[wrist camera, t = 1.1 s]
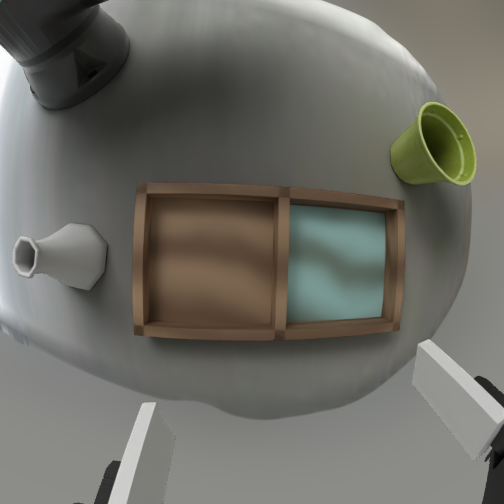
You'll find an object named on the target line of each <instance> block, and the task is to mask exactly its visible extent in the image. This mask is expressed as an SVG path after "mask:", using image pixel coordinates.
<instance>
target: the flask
mask: <svg viewBox="0 0 504 504" xmlns="http://www.w3.org/2000/svg"><path fill="white" fill-rule="evenodd" d="M106 252H107V243H106V242H105V241H104V240H103V239H102V237H101V236H100V235H99V234H98V233H97V231H96V230H95V229H94V228H93V227H92V225H84V224H76V223H70V224H68V225H66V226H65V227H63V228H62V229H60V230H59V231H57V232H55V233H54V234H52V235H50V236H48V237H47V238H45V239H41V240H37V241H34V239H32V238H28V237H22V236H20V237H19V239H18V241H17V243H16V244H15V246H14V248H13V258H12V265H13V266H14V268H15V270H16V271H17V273H18V274H19V276H23V277H26V278H32V277H33V276H34V274H39V273H44V274H47V275H49V276H51V277H53V278H55V279H57V280H58V281H60V282H62V283H64V284H65V285H67V286H70V287H75V288H79V289H84V290H88V291H90V289H91V288H92V287H93V286H94V284H95V283H96V282H97V280H98V279H99V278H100V277H101V275H102V274H103V273H104V271H105V261H106Z"/></svg>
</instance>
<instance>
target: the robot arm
mask: <svg viewBox="0 0 504 504" xmlns="http://www.w3.org/2000/svg"><path fill="white" fill-rule="evenodd" d="M105 1H108V0H0V45H1V46H2V47H3V48H4V49H5V50H6V51H7V52H8V53H9V54H10V55H11V56H12V57H13V58H14V59H15V60H16V61H17V62H18V63H19V64H20V65H21V66H22V67H23V70H24V73H25V75H26V78H27V80H28V82H29V84H30V89H31V92H32V95H33V96H34V98H35V99H36V100H37V101H38V102H39V103H40V104H42V105H43V106H44V107H46V108H48V109H53V110H58V109H64V108H68V107H71V106H73V105H76V104H78V103H80V102H82V101H84V100H85V99H87V98H89V97H90V96H92V95H93V94H94V93H96V92H97V91H98V90H100V89H101V88H102V87H103V86H104V85H106V84H107V83H108V82H109V81H110V80H111V79H112V78H113V77H114V75H115V74H116V73H117V72H118V71H119V69H120V68H121V66H122V65H123V63H124V61H125V59H126V57H127V55H128V51H129V40H128V37H127V35H126V32H125V30H124V28H123V27H122V26H121V25H120V24H119V23H117V22H116V21H115V20H114V19H113V18H112V17H110V16H109V15H108V14H107V13H106V12H105V11H103V10H102V9H101V8H100V6H99V4H100V3H103V2H105ZM412 384H413V385H414V386H415V388H416V389H417V390H418V391H419V393H420V394H421V395H422V396H423V397H424V399H425V400H426V401H427V402H428V404H429V405H430V406H431V407H432V409H433V410H434V411H435V412H436V414H437V415H438V416H439V417H440V419H441V420H442V421H443V423H444V424H445V425H446V426H447V428H448V429H449V430H450V432H451V433H452V434H453V435H454V437H455V438H456V439H457V441H458V442H459V443H460V445H461V446H462V447H463V448H464V450H465V451H466V453H467V454H468V455H469V457H470V458H471V459H472V461H475V460H476V459H477V458H478V457H480V456H481V455H483V454H484V453H485V452H486V450H487V449H488V447H489V446H490V445H491V447H492V450H491V451H490V453H489V454H488V455H487V457H486V459H485V462H486V461H487V460H488V459H489V457H490V460H489V461H490V464H489V471H488V477H487V483H486V488H485V492H484V497H483V501H482V504H504V394H503V393H502V392H501V391H498V389H497V388H496V387H495V386H493V384H492V383H491V382H490V381H488V380H487V379H486V378H483V377H481V376H477V377H475V378H474V379H473V378H472V377H471V376H470V375H469V374H468V373H467V372H465V371H464V370H463V369H462V368H461V367H460V366H458V364H457V363H455V361H453V360H452V359H451V358H450V357H449V356H447V354H445V353H444V352H443V351H442V350H441V349H440V348H439V347H438V346H437V345H435V344H434V343H433V342H432V341H431V340H430V339H428V340H426V341H424V342H421V343H419V344H418V347H417V354H416V361H415V367H414V373H413V378H412ZM175 438H176V435H175V434H174V432H173V431H172V429H171V427H170V426H169V424H168V422H167V421H166V419H165V417H164V415H163V414H162V412H161V410H160V408H159V406H158V405H157V403H156V402H152V403H142V406H141V408H140V411H139V414H138V416H137V419H136V422H135V424H134V427H133V430H132V433H131V436H130V438H129V441H128V444H127V447H126V450H125V453H124V456H123V458H122V461H112V462H111V464H110V465H109V466H108V467H107V468H106V471H105V474H104V478H103V479H102V482H101V485H100V488H99V490H98V493H97V496H96V499H95V502H94V504H164V499H165V492H166V487H167V481H168V475H169V470H170V465H171V459H172V454H173V448H174V443H175ZM74 504H82V503H74Z"/></svg>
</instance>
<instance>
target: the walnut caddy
mask: <svg viewBox="0 0 504 504" xmlns="http://www.w3.org/2000/svg"><path fill="white" fill-rule="evenodd" d="M404 270H405V210H404V201H401V200H395V199H388V198H382V197H375V196H367V195H360V194H352V193H343V192H334V191H325V190H315V189H304V188H292V187H280V186H265V185H247V184H225V183H176V182H165V183H137V193H136V204H135V217H134V233H133V261H132V296H133V324H134V335H139V336H150V337H163V338H178V339H197V340H233V341H262V340H298V339H317V338H332V337H345V336H356V335H366V334H375V333H383V332H391V331H399V328H400V320H401V311H402V300H403V287H404Z"/></svg>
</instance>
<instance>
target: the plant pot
mask: <svg viewBox="0 0 504 504" xmlns="http://www.w3.org/2000/svg"><path fill="white" fill-rule="evenodd" d="M390 154H391V165H392V167H393V169H394V171H395V173H396V174H397V175H398V177H399V178H400V179H401V180H403V181H404V182H406V183H409V184H413V185H417V184H425V183H434V182H449V183H453V184H455V185H466V184H468V183H470V182H471V181H472V179H473V178H474V176H475V173H476V164H477V162H476V153H475V148H474V145H473V142H472V139H471V137H470V135H469V133H468V131H467V129H466V127H465V126H464V124H463V123H462V121H461V120H460V119H459V118H458V117H457V116H456V114H454V113H453V112H452V111H451V110H450V109H449V108H447V107H446V106H444V105H442V104H440V103H436V102H429V103H426V104H425V105H423V106H422V108H421V109H420V111H419V114H418V117H417V118H416V120H415V122H414V123H413V124H412V125H411V126H410V127H409V128H408V129H407V130H406V131H405V132H404V133H403V134H402V135H401V136H400V137H399V138H398V139H397V140H396V141H395V142H394V143H393V144H392V146H391V149H390Z"/></svg>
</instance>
